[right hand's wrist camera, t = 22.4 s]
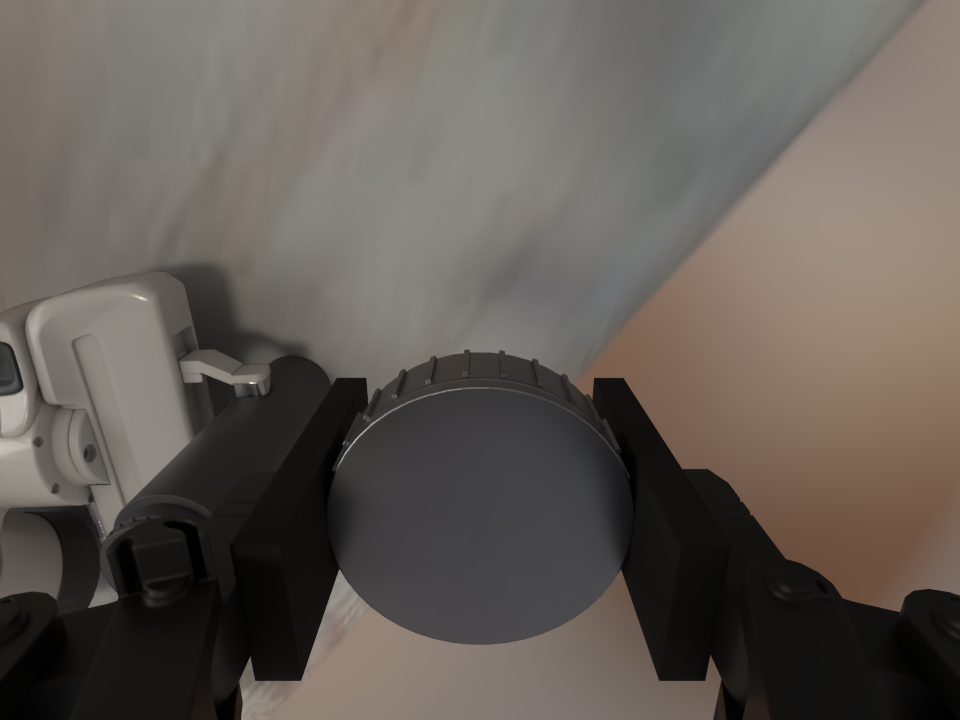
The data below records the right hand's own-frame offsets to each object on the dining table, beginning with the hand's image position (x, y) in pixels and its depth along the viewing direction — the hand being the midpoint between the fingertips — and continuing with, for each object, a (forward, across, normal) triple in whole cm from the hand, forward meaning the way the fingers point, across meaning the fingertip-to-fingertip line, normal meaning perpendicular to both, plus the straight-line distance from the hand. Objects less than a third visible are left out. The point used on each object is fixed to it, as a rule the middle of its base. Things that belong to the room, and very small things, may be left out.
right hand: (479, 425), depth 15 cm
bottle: (+25, -14, -10) cm, 30 cm away
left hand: (+18, -13, -10) cm, 25 cm away
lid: (-4, 0, 0) cm, 4 cm away
